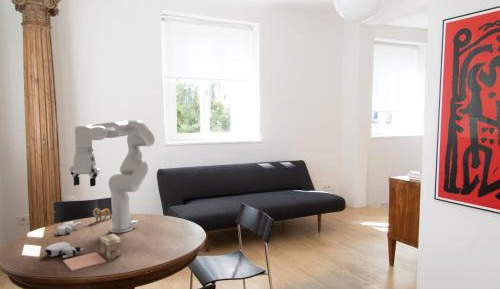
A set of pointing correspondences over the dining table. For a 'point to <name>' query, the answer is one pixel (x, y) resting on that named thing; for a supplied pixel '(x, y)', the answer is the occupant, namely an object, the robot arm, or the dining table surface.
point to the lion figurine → (101, 214)
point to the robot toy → (62, 250)
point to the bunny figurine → (66, 228)
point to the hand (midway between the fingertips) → (84, 185)
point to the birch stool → (109, 241)
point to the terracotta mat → (84, 261)
